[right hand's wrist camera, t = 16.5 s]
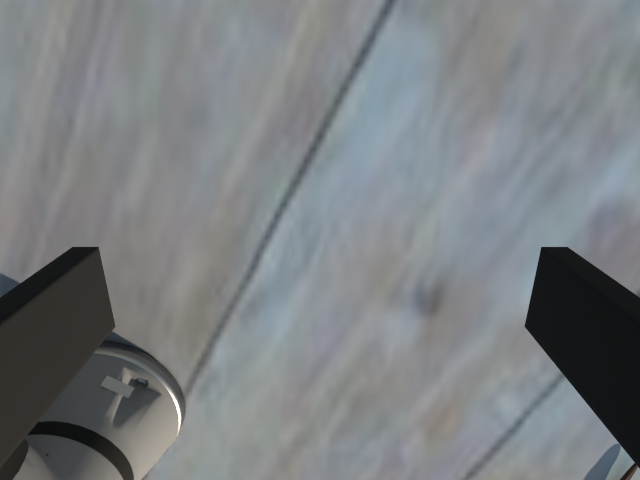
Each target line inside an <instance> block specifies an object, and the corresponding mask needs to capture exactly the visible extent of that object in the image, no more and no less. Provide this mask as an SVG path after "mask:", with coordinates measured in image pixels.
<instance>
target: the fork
mask: <svg viewBox="0 0 640 480" xmlns="http://www.w3.org/2000/svg"><path fill="white" fill-rule="evenodd" d="M637 467H638V466H637V464H636V463H635V464H633V465H632V466H631V467H630V469H629V470H628V471H627V472H626V473H625V474H624V475H623V477H622V478H621V479H620V480H630V479H631V477H632V476H633V474H634V473H635V471H636V469H637Z"/></svg>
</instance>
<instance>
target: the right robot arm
mask: <svg viewBox="0 0 640 480" xmlns="http://www.w3.org/2000/svg"><path fill="white" fill-rule="evenodd" d="M114 327H115V323H114V318H113V313H112V309H111V304H110V299H109V294H108V290H107V285H106V280H105V276H104V271H103V266H102V261H101V257H100V252H99V247H72V248H71V249H69V250H68V251H66V252H65V253H63V254H62V255H61V256H59V257H58V258H56V259H55V260H53V261H52V262H51V263H49V264H48V265H46V266H45V267H43V268H42V269H41V270H39V271H38V272H36V273H35V274H33V275H32V276H31V277H29V278H28V279H26V280H25V281H23V282H22V283H21V284H19V285H18V286H16V287H15V288H13V289H12V290H11V291H9V292H8V293H6V294H5V295H3V296H2V297H1V298H0V480H141V479H142V478H143V477H144V476H145V474H146V473H147V472H148V471H149V470H150V469H151V468H152V467H153V466H154V464H155V463H156V462H157V461H158V460H159V459H160V457H161V456H162V455H163V454H165V453H166V451H167V450H169V448H170V447H171V446H172V445H173V443H174V442H175V440H176V438H177V435H178V433H179V431H180V428H181V426H182V423H183V420H184V417H185V401H184V396H183V393H182V391H181V389H180V386H179V385H178V383H177V381H176V380H175V378H174V377H173V376H172V374H171V373H170V372H169V371H168V370H167V369H166V368H165V367H164V366H163V365H162V364H160V363H159V362H158V361H157V360H155V359H154V358H152V357H151V356H149V355H147V354H145V353H144V352H141V351H139V350H137V349H135V348H132V347H129V346H126V345H123V344H118V343H113V342H103V341H104V340H105V339H106V337H107V336H108V335H109V334H110V332H111V331H112V330H113V329H114ZM525 327H526V329H527V330H528V331H529V332H530V334H531V335H532V336H533V337H534V339H535V340H536V341H537V342H538V343H539V345H540V346H541V347H542V348H543V350H544V351H545V352H546V353H547V355H548V356H549V357H550V358H551V360H552V361H553V362H554V363H555V364H556V366H557V367H558V368H559V369H560V371H561V372H562V373H563V374H564V376H565V377H566V378H567V379H568V380H569V382H570V383H571V384H572V385H573V387H574V388H575V389H576V390H577V392H578V393H579V394H580V395H581V397H582V398H583V399H584V400H585V401H586V403H587V404H588V405H589V406H590V408H591V409H592V410H593V411H594V413H595V414H596V415H597V416H598V417H599V419H600V420H601V421H602V422H603V424H604V425H605V426H606V427H607V429H608V430H609V431H610V432H611V434H612V435H613V436H614V437H615V438H616V440H617V441H618V442H619V443H620V445H621V446H622V447H623V448H624V450H625V451H626V452H627V453H628V454H629V456H630V457H631V458H632V459H633V461H634V462H635V463H636V464H637V466H638V467H639V468H640V298H639V297H638V296H637V295H635V294H634V293H632V292H631V291H629V290H628V289H627V288H625V287H624V286H622V285H621V284H619V283H618V282H617V281H615V280H614V279H612V278H611V277H609V276H608V275H607V274H605V273H604V272H602V271H601V270H599V269H598V268H597V267H595V266H594V265H592V264H591V263H589V262H588V261H587V260H585V259H584V258H582V257H581V256H579V255H578V254H577V253H575V252H574V251H572V250H571V249H569V248H568V247H541V252H540V257H539V261H538V266H537V271H536V276H535V280H534V285H533V290H532V294H531V299H530V304H529V309H528V313H527V318H526V323H525Z"/></svg>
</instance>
